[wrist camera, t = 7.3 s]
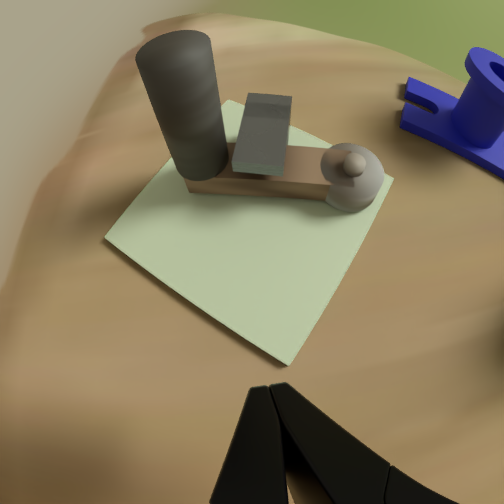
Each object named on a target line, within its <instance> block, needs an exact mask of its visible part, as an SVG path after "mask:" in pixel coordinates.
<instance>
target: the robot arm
mask: <svg viewBox="0 0 504 504" xmlns="http://www.w3.org/2000/svg"><path fill="white" fill-rule="evenodd" d="M287 485H288V487H289V490H290V493H291V495H292V498H293V500H294V503H295V504H459V503H457V502H454V501H452V500H450V499H448V498H446V497H444V496H442V495H440V494H438V493H436V492H434V491H432V490H430V489H429V488H427V487H425V486H423V485H422V484H420V483H418V482H417V481H415V480H414V479H412V478H411V477H409V476H408V475H406V474H405V473H403V472H402V471H400V470H399V469H397V468H396V467H395V466H393V465H392V466H390V463H389V462H388V461H386V460H385V459H383V458H382V457H381V456H379V455H378V454H377V453H375V452H374V451H372V450H371V449H370V448H368V447H367V446H366V445H364V444H363V443H362V442H360V441H359V440H358V439H357V438H355V437H354V436H353V435H351V434H350V433H349V432H347V431H346V430H345V429H344V428H342V427H341V426H340V425H338V424H337V423H336V422H335V421H333V420H332V419H331V418H330V417H328V416H327V415H326V414H325V413H323V412H322V411H321V410H320V409H318V408H317V407H316V406H315V405H313V404H312V403H311V402H310V401H309V400H307V399H306V398H305V397H304V396H303V395H301V394H300V393H299V392H298V391H297V390H295V389H294V388H293V387H292V386H291V385H289V384H288V383H286V382H282V383H276V384H271V385H269V387H268V386H266V385H263V386H256V387H251V388H250V389H249V391H248V394H247V397H246V400H245V403H244V406H243V409H242V412H241V415H240V418H239V421H238V424H237V426H236V429H235V432H234V435H233V438H232V441H231V443H230V446H229V449H228V452H227V455H226V457H225V460H224V463H223V466H222V468H221V471H220V474H219V477H218V479H217V482H216V485H215V487H214V490H213V493H212V495H211V498H210V501H209V503H210V504H289V502H288V492H287Z"/></svg>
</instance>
